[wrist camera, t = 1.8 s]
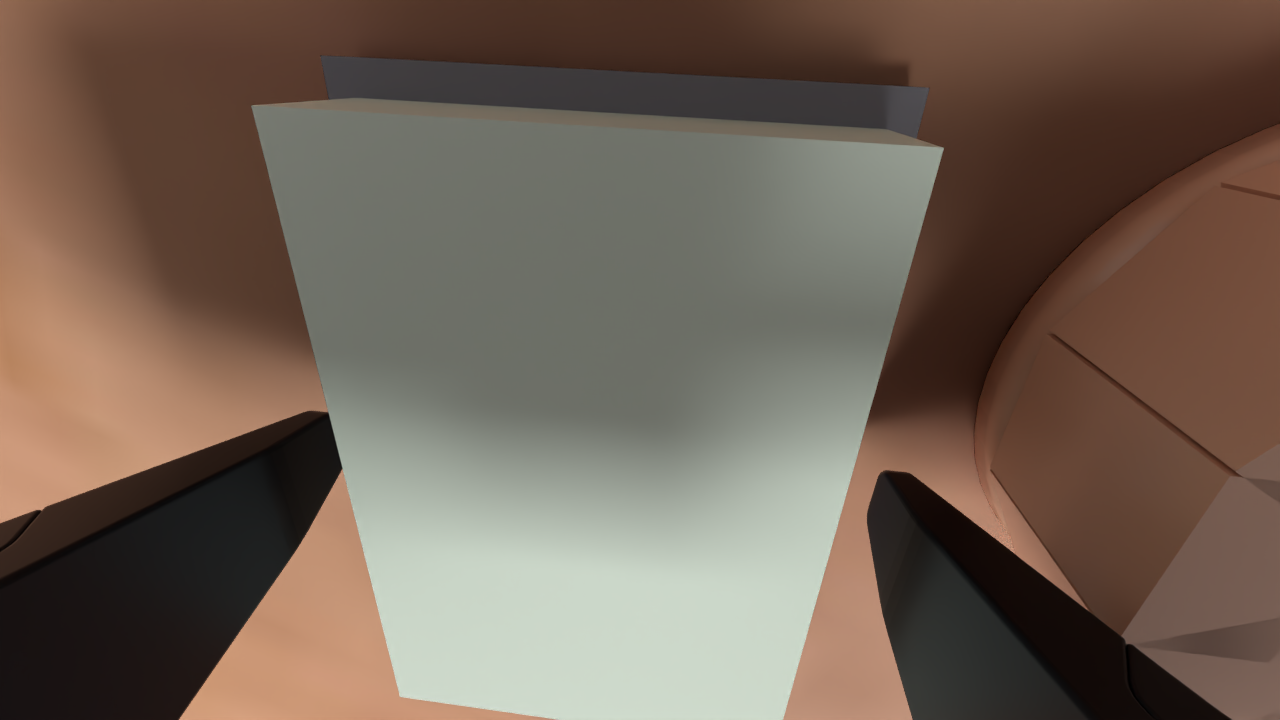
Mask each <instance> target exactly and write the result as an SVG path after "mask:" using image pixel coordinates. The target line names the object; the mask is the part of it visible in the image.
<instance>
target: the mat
mask: <svg viewBox="0 0 1280 720" xmlns="http://www.w3.org/2000/svg"><path fill="white" fill-rule="evenodd" d="M320 56H321V62H322V67H323V72H324V77H325V82H326V88H327V93H328V98H329V100H332V99H345V98H368V99H385V100H402V101H419V102H436V103H453V104H469V105H486V106H503V107H520V108H537V109H554V110H571V111H588V112H605V113H622V114H639V115H656V116H673V117H690V118H707V119H724V120H741V121H758V122H774V123H791V124H808V125H825V126H842V127H859V128H876V129H888V130H891V131H894V132H897V133H900V134H903V135H906V136H909V137H913V138H916V139H917V135H918V131H919V127H920V123H921V119H922V115H923V111H924V108H925V104H926V100H927V96H928V92H929V88H925V87H911V86H892V85H874V84H855V83H836V82H817V81H798V80H780V79H761V78H742V77H723V76H704V75H686V74H667V73H648V72H629V71H610V70H592V69H573V68H554V67H535V66H516V65H498V64H479V63H460V62H441V61H422V60H404V59H385V58H366V57H345V56H322V55H320Z"/></svg>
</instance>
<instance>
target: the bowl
mask: <svg viewBox="0 0 1280 720" xmlns="http://www.w3.org/2000/svg"><path fill="white" fill-rule="evenodd" d="M974 440H975V461H976V465H977V470H978V474H979V479H980V484H981V486H982V488H983V491H984V493H985V495H986V498H987V500H988V502H989V505H990V507H991V508H992V510H993V511H994V513H995V514H996V516H997V518H998V519H999V521H1000V522H1001V524H1002V525H1003V527H1004V528H1005V530H1006V531H1007V533H1008V535H1009V536H1010V538H1011V541H1012V544H1013V548H1014V551H1015V554H1016V555H1017V556H1018V557H1019V558H1021V559H1022V560H1023V561H1025V562H1026V563H1027V564H1028V565H1030V566H1031V567H1032V568H1034V569H1035V570H1036V571H1037V572H1039V573H1040V574H1041V575H1043V576H1044V577H1045V578H1047V579H1048V580H1049V581H1050V582H1052V583H1053V584H1054V585H1056V586H1057V587H1058V588H1060V589H1061V590H1062V591H1063V592H1065V593H1066V594H1067V595H1069V596H1070V597H1071V598H1072V599H1074V600H1075V601H1076V602H1078V603H1079V604H1080V605H1082V606H1083V607H1084V608H1085V609H1087V610H1088V611H1089V612H1091V613H1092V614H1093V615H1094V616H1096V617H1097V618H1098V619H1100V620H1101V621H1102V622H1104V623H1105V624H1106V625H1107V626H1109V627H1110V628H1111V629H1113V630H1114V631H1115V632H1116V633H1118V634H1119V635H1120V636H1122V637H1123V638H1124V639H1125V641H1126V644H1132V645H1134V646H1135V647H1136V648H1137V649H1139V650H1140V651H1141V652H1143V653H1144V654H1145V655H1146V656H1148V657H1149V658H1150V659H1152V660H1153V661H1154V662H1156V663H1157V664H1158V665H1159V666H1161V667H1162V668H1163V669H1165V670H1166V671H1167V672H1169V673H1170V674H1171V675H1173V676H1174V677H1175V678H1177V679H1178V680H1179V681H1181V682H1182V683H1183V684H1185V685H1186V686H1187V687H1189V688H1190V689H1191V690H1193V691H1194V692H1195V693H1197V694H1198V695H1199V696H1201V697H1202V698H1203V699H1205V700H1206V701H1207V702H1209V703H1210V704H1211V705H1213V706H1214V707H1215V708H1217V709H1218V710H1219V711H1221V712H1222V713H1224V714H1225V715H1226V716H1228V717H1229V718H1231V719H1232V720H1280V124H1277V125H1275V126H1272V127H1269V128H1266V129H1264V130H1262V131H1260V132H1257V133H1255V134H1253V135H1251V136H1249V137H1246V138H1244V139H1242V140H1240V141H1238V142H1235V143H1233V144H1231V145H1229V146H1227V147H1224V148H1222V149H1220V150H1218V151H1215V152H1213V153H1212V154H1210V155H1208V156H1206V157H1205V158H1203V159H1201V160H1199V161H1197V162H1196V163H1194V164H1192V165H1190V166H1189V167H1187V168H1185V169H1183V170H1182V171H1180V172H1178V173H1176V174H1174V175H1173V176H1171V177H1169V178H1167V179H1166V180H1164V181H1163V182H1161V183H1160V184H1158V185H1157V186H1155V187H1154V188H1152V189H1151V190H1149V191H1148V192H1147V193H1145V194H1144V195H1142V196H1141V197H1139V198H1138V199H1136V200H1135V201H1134V202H1132V203H1131V204H1129V205H1128V206H1126V207H1125V208H1123V209H1122V210H1120V211H1119V212H1118V213H1117V214H1116V215H1114V216H1113V217H1112V218H1111V219H1110V220H1108V221H1107V222H1106V223H1105V224H1104V225H1102V226H1101V227H1100V228H1099V229H1098V230H1096V231H1095V232H1094V233H1093V234H1092V235H1090V236H1089V237H1088V238H1087V239H1086V240H1084V241H1083V242H1082V243H1081V244H1080V245H1079V246H1078V247H1077V248H1076V249H1075V250H1074V251H1073V252H1072V253H1071V254H1070V255H1069V256H1068V257H1067V258H1066V259H1065V260H1064V261H1063V262H1062V263H1061V264H1060V265H1059V266H1058V267H1057V268H1056V269H1055V270H1054V271H1053V272H1052V273H1051V274H1050V275H1049V277H1048V278H1047V279H1046V280H1045V282H1044V283H1043V284H1042V285H1041V287H1040V288H1039V289H1038V290H1037V292H1036V293H1035V294H1034V295H1033V297H1032V298H1031V299H1030V300H1029V302H1028V303H1027V304H1026V305H1025V307H1024V308H1023V309H1022V311H1021V312H1020V314H1019V316H1018V317H1017V319H1016V320H1015V322H1014V324H1013V325H1012V327H1011V328H1010V330H1009V332H1008V333H1007V335H1006V336H1005V338H1004V339H1003V341H1002V343H1001V345H1000V347H999V349H998V352H997V354H996V356H995V358H994V360H993V362H992V365H991V367H990V369H989V371H988V373H987V376H986V380H985V383H984V386H983V390H982V393H981V396H980V399H979V403H978V409H977V416H976V423H975V430H974Z"/></svg>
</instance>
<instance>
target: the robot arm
mask: <svg viewBox="0 0 1280 720" xmlns="http://www.w3.org/2000/svg"><path fill="white" fill-rule="evenodd" d="M342 469H343V468H342V464H341V460H340V456H339V452H338V448H337V444H336V440H335V436H334V432H333V428H332V424H331V420H330V416H329V412H320V411H306V412H303V413H301V414H298V415H295V416H292V417H290V418H287V419H284V420H282V421H279V422H276V423H273V424H271V425H268V426H265V427H262V428H260V429H257V430H254V431H251V432H249V433H246V434H243V435H241V436H238V437H235V438H232V439H230V440H227V441H224V442H221V443H219V444H216V445H213V446H211V447H208V448H205V449H202V450H200V451H197V452H194V453H191V454H189V455H186V456H183V457H180V458H178V459H175V460H172V461H170V462H167V463H164V464H161V465H159V466H156V467H153V468H150V469H148V470H145V471H142V472H140V473H137V474H134V475H131V476H129V477H126V478H123V479H120V480H118V481H115V482H112V483H109V484H107V485H104V486H101V487H99V488H96V489H93V490H90V491H88V492H85V493H82V494H79V495H77V496H74V497H71V498H69V499H66V500H63V501H60V502H58V503H55V504H52V505H49V506H47V507H45V508H44V509H43V510H42V511H41V510H35V511H33V512H30V513H27V514H24V515H22V516H19V517H16V518H14V519H11V520H8V521H5V522H3V523H0V720H179V719H180V717H181V716H182V714H183V713H184V711H185V710H186V709H187V707H188V706H189V704H190V703H191V701H192V700H193V699H194V697H195V696H196V694H197V693H198V691H199V690H200V688H201V687H202V686H203V684H204V683H205V681H206V680H207V678H208V677H209V675H210V674H211V673H212V671H213V670H214V668H215V667H216V665H217V664H218V662H219V661H220V660H221V658H222V657H223V655H224V654H225V652H226V651H227V649H228V648H229V647H230V645H231V644H232V642H233V641H234V639H235V638H236V636H237V635H238V634H239V632H240V631H241V629H242V628H243V626H244V625H245V623H246V622H247V621H248V619H249V618H250V616H251V615H252V613H253V612H254V611H255V609H256V608H257V606H258V605H259V603H260V602H261V600H262V599H263V598H264V596H265V595H266V593H267V592H268V590H269V589H270V587H271V586H272V585H273V583H274V582H275V580H276V579H277V577H278V576H279V574H280V573H281V572H282V570H283V569H284V567H285V566H286V564H287V563H288V561H289V560H290V559H291V557H292V556H293V554H294V553H295V551H296V550H297V548H298V547H299V545H300V543H301V542H302V540H303V538H304V537H305V535H306V533H307V532H308V530H309V528H310V526H311V525H312V523H313V521H314V519H315V517H316V516H317V514H318V512H319V510H320V508H321V507H322V505H323V503H324V501H325V499H326V498H327V496H328V494H329V492H330V490H331V488H332V487H333V485H334V483H335V481H336V479H337V478H338V476H339V474H340V472H341V470H342ZM867 526H868V532H869V538H870V544H871V550H872V556H873V562H874V568H875V574H876V580H877V586H878V592H879V598H880V603H881V608H882V613H883V617H884V621H885V625H886V629H887V632H888V636H889V639H890V643H891V646H892V650H893V653H894V657H895V660H896V664H897V667H898V670H899V674H900V677H901V681H902V684H903V688H904V691H905V695H906V698H907V701H908V705H909V708H910V712H911V715H912V719H913V720H1232V719H1231V718H1229V717H1228V716H1226V715H1225V714H1224V713H1222V712H1221V711H1219V710H1218V709H1217V708H1215V707H1214V706H1213V705H1211V704H1210V703H1209V702H1207V701H1206V700H1205V699H1203V698H1202V697H1201V696H1199V695H1198V694H1197V693H1195V692H1194V691H1193V690H1191V689H1190V688H1189V687H1187V686H1186V685H1185V684H1183V683H1182V682H1181V681H1179V680H1178V679H1177V678H1175V677H1174V676H1173V675H1171V674H1170V673H1169V672H1167V671H1166V670H1165V669H1163V668H1162V667H1161V666H1159V665H1158V664H1157V663H1156V662H1154V661H1153V660H1152V659H1150V658H1149V657H1148V656H1146V655H1145V654H1144V653H1143V652H1141V651H1140V650H1139V649H1137V648H1136V647H1135V646H1134V645H1132V644H1126V641H1125V639H1124V638H1123V637H1122V636H1120V635H1119V634H1118V633H1116V632H1115V631H1114V630H1113V629H1111V628H1110V627H1109V626H1107V625H1106V624H1105V623H1104V622H1102V621H1101V620H1100V619H1098V618H1097V617H1096V616H1094V615H1093V614H1092V613H1091V612H1089V611H1088V610H1087V609H1085V608H1084V607H1083V606H1082V605H1080V604H1079V603H1078V602H1076V601H1075V600H1074V599H1072V598H1071V597H1070V596H1069V595H1067V594H1066V593H1065V592H1063V591H1062V590H1061V589H1060V588H1058V587H1057V586H1056V585H1054V584H1053V583H1052V582H1050V581H1049V580H1048V579H1047V578H1045V577H1044V576H1043V575H1041V574H1040V573H1039V572H1037V571H1036V570H1035V569H1034V568H1032V567H1031V566H1030V565H1028V564H1027V563H1026V562H1025V561H1023V560H1022V559H1021V558H1019V557H1018V556H1017V555H1015V554H1014V553H1013V552H1012V551H1010V550H1009V549H1008V548H1006V547H1005V546H1004V545H1003V544H1001V543H1000V542H999V541H997V540H996V539H995V538H993V537H992V536H991V535H990V534H988V533H987V532H986V531H984V530H983V529H982V528H981V527H979V526H978V525H977V524H975V523H974V522H973V521H971V520H970V519H969V518H968V517H966V516H965V515H964V514H962V513H961V512H960V511H959V510H957V509H956V508H955V507H953V506H952V505H951V504H949V503H948V502H947V501H946V500H944V499H943V498H942V497H940V496H939V495H938V494H936V493H935V492H934V491H933V490H931V489H930V488H929V487H927V486H926V485H925V484H924V483H922V482H921V481H920V480H918V479H917V478H916V477H914V476H913V475H912V474H910V473H907V472H898V471H889V470H885V471H883V472H881V473H880V475H879V476H878V479H877V482H876V485H875V488H874V492H873V495H872V498H871V501H870V505H869V508H868V512H867Z"/></svg>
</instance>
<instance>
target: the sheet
mask: <svg viewBox="0 0 1280 720" xmlns="http://www.w3.org/2000/svg"><path fill="white" fill-rule="evenodd" d="M251 107H252V111H253V115H254V119H255V123H256V127H257V131H258V134H259V138H260V142H261V146H262V150H263V154H264V158H265V162H266V166H267V170H268V174H269V178H270V182H271V186H272V190H273V194H274V198H275V202H276V206H277V210H278V214H279V218H280V222H281V226H282V230H283V234H284V238H285V242H286V246H287V250H288V254H289V258H290V262H291V265H292V269H293V273H294V277H295V281H296V285H297V289H298V293H299V297H300V301H301V305H302V309H303V313H304V317H305V321H306V325H307V329H308V333H309V337H310V341H311V345H312V349H313V353H314V357H315V361H316V365H317V369H318V373H319V377H320V381H321V385H322V389H323V393H324V396H325V400H326V404H327V408H328V412H329V416H330V420H331V424H332V428H333V432H334V436H335V440H336V444H337V448H338V452H339V456H340V460H341V464H342V468H343V472H344V476H345V480H346V484H347V488H348V492H349V496H350V500H351V504H352V508H353V512H354V516H355V520H356V524H357V528H358V531H359V535H360V539H361V543H362V547H363V551H364V555H365V559H366V563H367V567H368V571H369V575H370V579H371V583H372V587H373V591H374V595H375V599H376V603H377V607H378V611H379V615H380V619H381V623H382V627H383V631H384V635H385V639H386V643H387V647H388V651H389V655H390V659H391V662H392V666H393V670H394V674H395V678H396V682H397V686H398V690H399V694H400V697H405V698H412V699H419V700H426V701H432V702H439V703H446V704H453V705H460V706H467V707H474V708H481V709H488V710H495V711H502V712H509V713H516V714H523V715H530V716H537V717H544V718H551V719H558V720H783V717H784V714H785V710H786V707H787V703H788V700H789V696H790V693H791V689H792V686H793V682H794V678H795V675H796V671H797V668H798V664H799V661H800V657H801V654H802V650H803V646H804V643H805V639H806V636H807V632H808V629H809V625H810V622H811V618H812V615H813V611H814V607H815V604H816V600H817V597H818V593H819V590H820V586H821V583H822V579H823V575H824V572H825V568H826V565H827V561H828V558H829V554H830V551H831V547H832V544H833V540H834V536H835V533H836V529H837V526H838V522H839V519H840V515H841V512H842V508H843V504H844V501H845V497H846V494H847V490H848V487H849V483H850V480H851V476H852V473H853V469H854V465H855V462H856V458H857V455H858V451H859V448H860V444H861V441H862V437H863V433H864V430H865V426H866V423H867V419H868V416H869V412H870V409H871V405H872V402H873V398H874V394H875V391H876V387H877V384H878V380H879V377H880V373H881V370H882V366H883V362H884V359H885V355H886V352H887V348H888V345H889V341H890V338H891V334H892V331H893V327H894V323H895V320H896V316H897V313H898V309H899V306H900V302H901V299H902V295H903V291H904V288H905V284H906V281H907V277H908V274H909V270H910V267H911V263H912V260H913V256H914V252H915V249H916V245H917V242H918V238H919V235H920V231H921V228H922V224H923V220H924V217H925V213H926V210H927V206H928V203H929V199H930V196H931V192H932V189H933V185H934V181H935V178H936V174H937V171H938V167H939V164H940V160H941V157H942V153H943V149H944V147H940V146H937V145H934V144H931V143H928V142H925V141H922V140H919V139H916V138H913V137H909V136H906V135H903V134H900V133H897V132H894V131H891V130H888V129H876V128H859V127H842V126H825V125H808V124H791V123H774V122H758V121H741V120H724V119H707V118H690V117H673V116H656V115H639V114H622V113H605V112H588V111H571V110H554V109H537V108H520V107H503V106H486V105H469V104H453V103H436V102H419V101H402V100H385V99H368V98H345V99H332V100H318V101H304V102H291V103H277V104H263V105H251Z"/></svg>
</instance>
